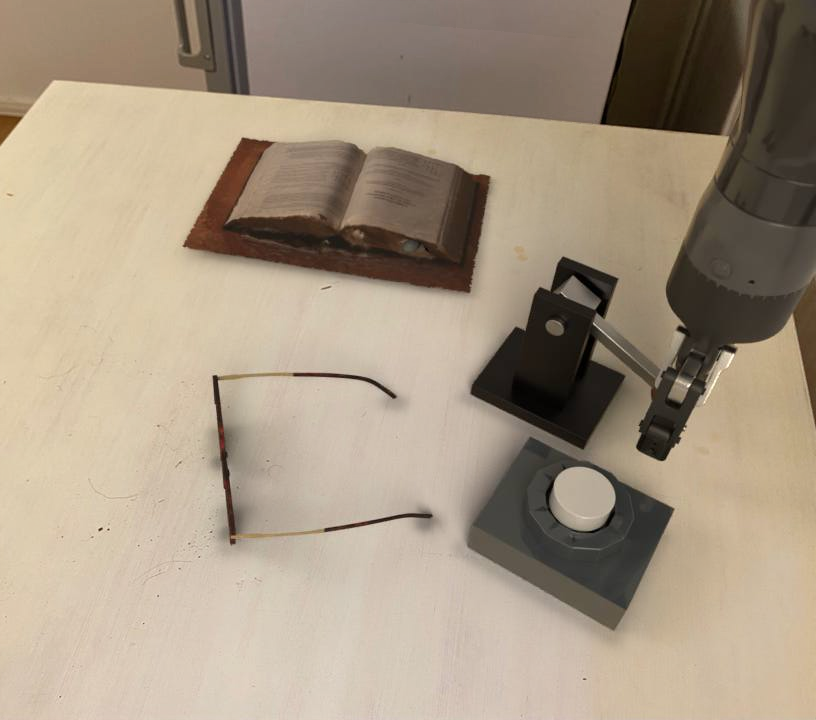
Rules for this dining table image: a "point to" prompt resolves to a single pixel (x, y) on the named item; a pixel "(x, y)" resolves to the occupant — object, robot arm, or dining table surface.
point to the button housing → (569, 536)
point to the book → (346, 211)
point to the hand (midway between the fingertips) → (671, 414)
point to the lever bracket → (555, 362)
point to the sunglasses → (227, 474)
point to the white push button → (582, 499)
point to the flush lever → (611, 334)
